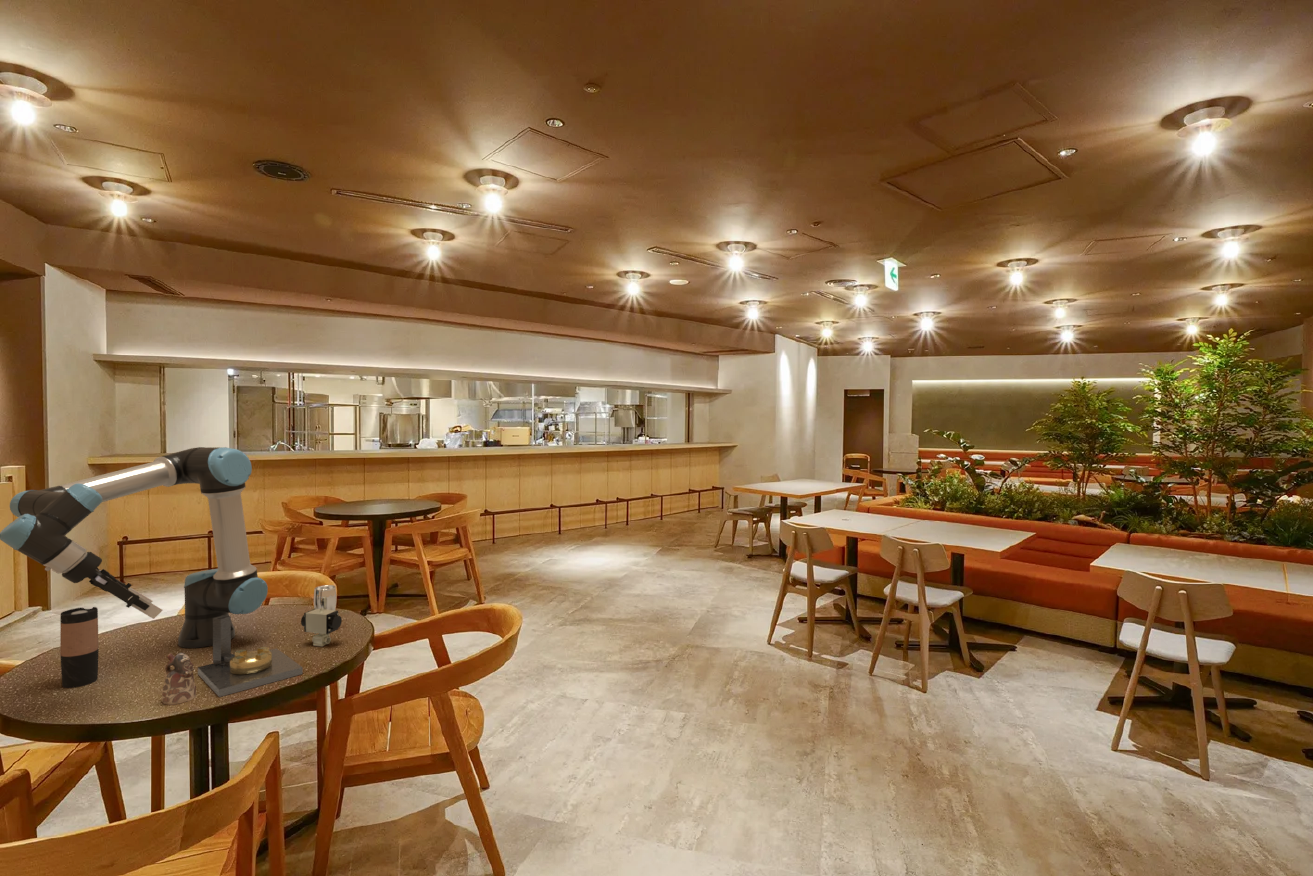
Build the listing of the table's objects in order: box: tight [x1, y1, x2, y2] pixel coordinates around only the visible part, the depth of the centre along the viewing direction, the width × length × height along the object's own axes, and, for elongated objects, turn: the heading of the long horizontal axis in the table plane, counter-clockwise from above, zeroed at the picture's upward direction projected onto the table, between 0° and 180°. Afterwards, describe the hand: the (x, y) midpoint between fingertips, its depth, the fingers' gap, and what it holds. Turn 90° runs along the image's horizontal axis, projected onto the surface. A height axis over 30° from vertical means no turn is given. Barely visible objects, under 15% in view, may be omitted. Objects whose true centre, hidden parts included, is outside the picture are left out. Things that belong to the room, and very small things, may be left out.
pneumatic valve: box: [300, 608, 343, 647], centre depth 198 cm, size 6×12×12 cm, turn 78°
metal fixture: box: [212, 615, 272, 674], centre depth 174 cm, size 18×10×13 cm, turn 74°
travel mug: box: [59, 606, 100, 689], centre depth 168 cm, size 8×8×20 cm
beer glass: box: [313, 584, 337, 610], centre depth 212 cm, size 7×7×15 cm
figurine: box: [161, 652, 197, 706], centre depth 158 cm, size 7×7×12 cm
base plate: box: [197, 648, 304, 698], centre depth 174 cm, size 22×20×2 cm
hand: (153, 609), depth 164 cm, fingers open, 12 cm apart
